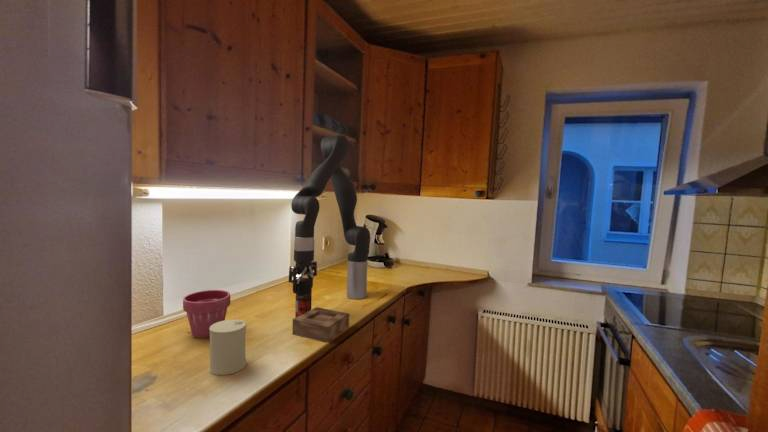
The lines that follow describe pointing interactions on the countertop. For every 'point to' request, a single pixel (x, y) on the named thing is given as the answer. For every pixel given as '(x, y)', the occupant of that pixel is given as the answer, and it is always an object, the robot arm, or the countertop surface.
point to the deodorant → (303, 296)
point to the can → (227, 346)
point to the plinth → (321, 324)
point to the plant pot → (205, 310)
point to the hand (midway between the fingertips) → (303, 290)
